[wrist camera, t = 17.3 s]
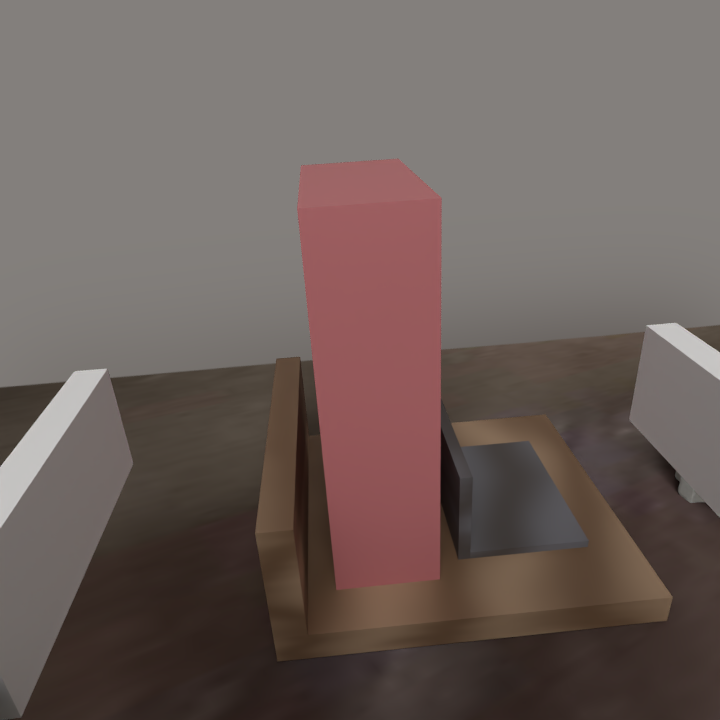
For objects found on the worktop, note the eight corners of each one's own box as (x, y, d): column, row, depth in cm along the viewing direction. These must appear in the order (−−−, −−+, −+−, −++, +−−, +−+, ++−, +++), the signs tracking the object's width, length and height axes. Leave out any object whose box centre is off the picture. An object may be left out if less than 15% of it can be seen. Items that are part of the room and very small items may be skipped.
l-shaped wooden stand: (277, 661, 26) (254, 533, 23) (289, 455, 41) (276, 358, 38) (667, 620, 27) (698, 490, 24) (543, 432, 42) (553, 335, 38)
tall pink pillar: (336, 590, 28) (297, 208, 20) (329, 456, 38) (300, 165, 30) (440, 579, 28) (441, 197, 20) (406, 449, 38) (398, 158, 30)
